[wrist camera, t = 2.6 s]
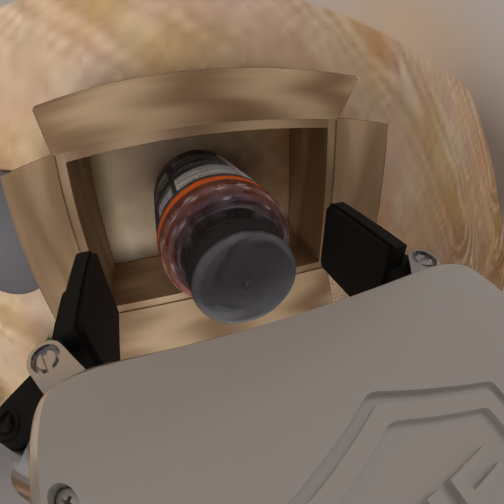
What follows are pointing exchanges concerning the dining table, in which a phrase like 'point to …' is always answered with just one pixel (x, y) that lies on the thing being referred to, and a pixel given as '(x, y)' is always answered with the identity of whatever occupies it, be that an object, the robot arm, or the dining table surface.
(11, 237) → the coaster
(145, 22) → the dining table surface
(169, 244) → the supplement bottle
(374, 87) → the dining table surface
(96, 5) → the dining table surface
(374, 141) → the carton
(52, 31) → the dining table surface
